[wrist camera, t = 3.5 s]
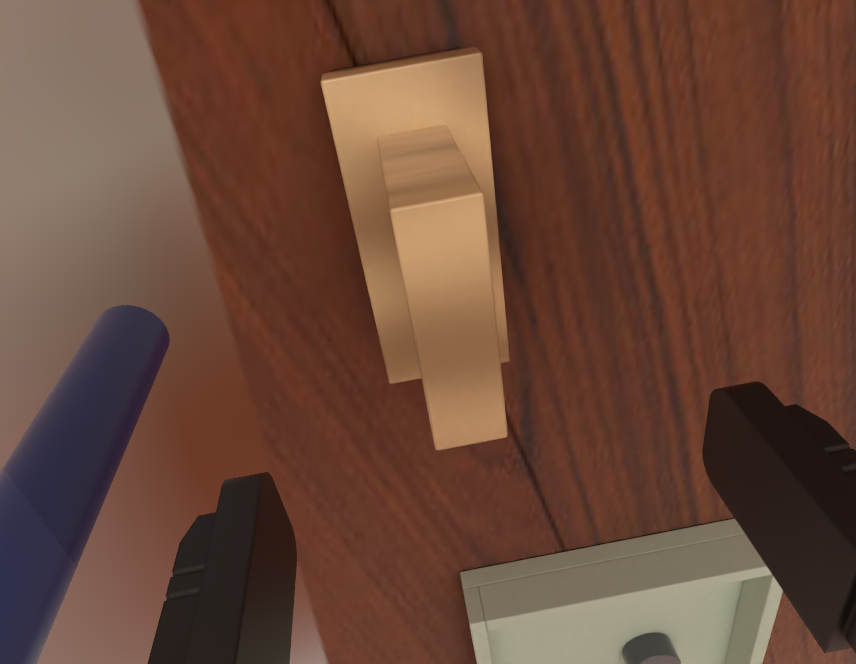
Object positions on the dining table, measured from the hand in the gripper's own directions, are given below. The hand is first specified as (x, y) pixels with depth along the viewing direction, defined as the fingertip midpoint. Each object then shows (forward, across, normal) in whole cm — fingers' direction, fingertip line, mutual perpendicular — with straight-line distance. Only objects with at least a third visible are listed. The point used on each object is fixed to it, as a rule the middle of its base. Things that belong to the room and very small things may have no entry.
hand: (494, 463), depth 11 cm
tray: (+12, -7, +31) cm, 34 cm away
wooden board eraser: (+12, 0, 0) cm, 12 cm away
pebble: (+11, -9, +29) cm, 32 cm away
